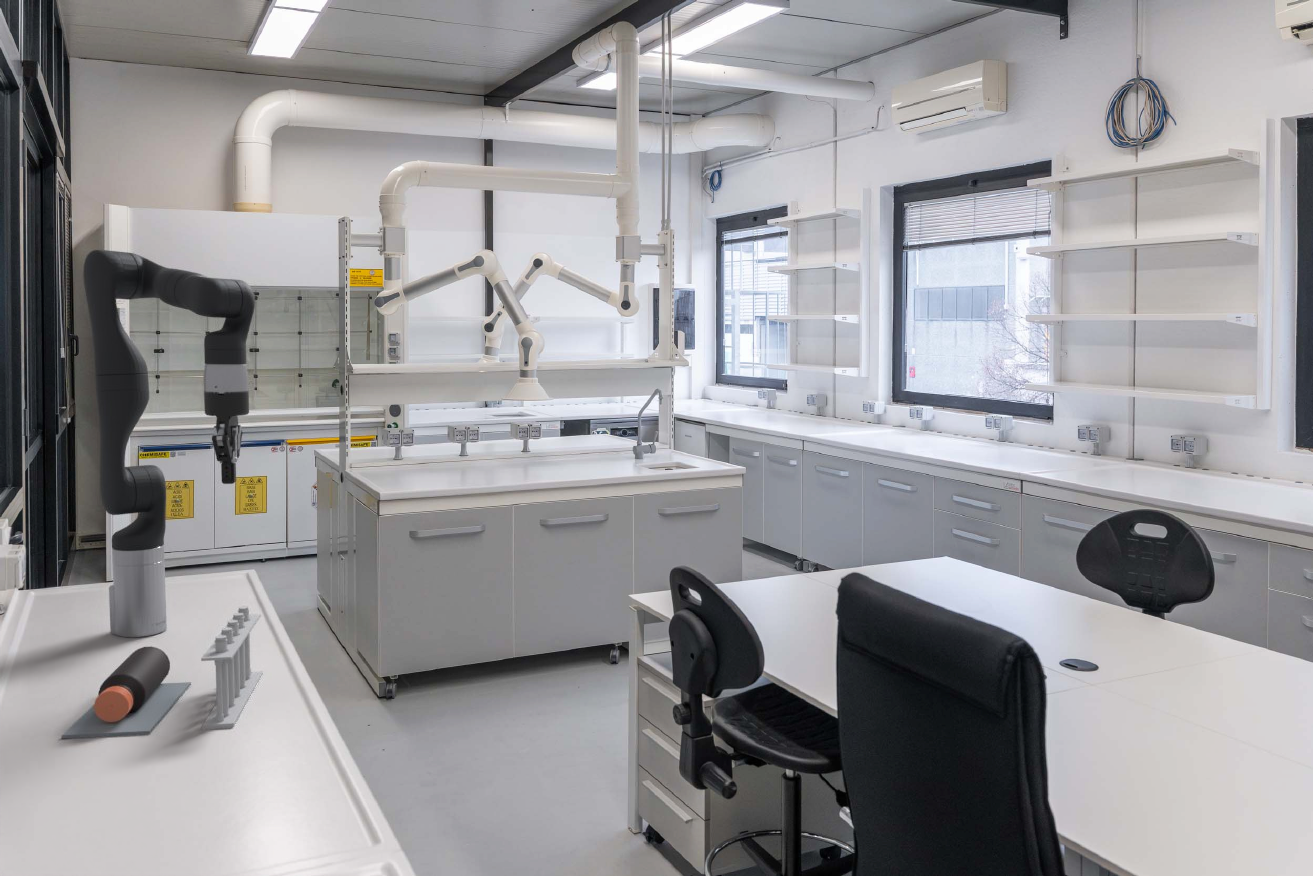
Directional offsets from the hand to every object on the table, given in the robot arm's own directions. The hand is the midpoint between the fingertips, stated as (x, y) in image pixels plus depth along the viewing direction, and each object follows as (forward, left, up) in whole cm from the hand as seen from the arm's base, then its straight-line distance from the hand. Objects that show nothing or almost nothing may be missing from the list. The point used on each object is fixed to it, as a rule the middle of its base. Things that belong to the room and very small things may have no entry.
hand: (228, 483), depth 187 cm
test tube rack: (+15, -23, -32) cm, 42 cm away
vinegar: (-4, -19, -29) cm, 34 cm away
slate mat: (+2, -30, -32) cm, 44 cm away
